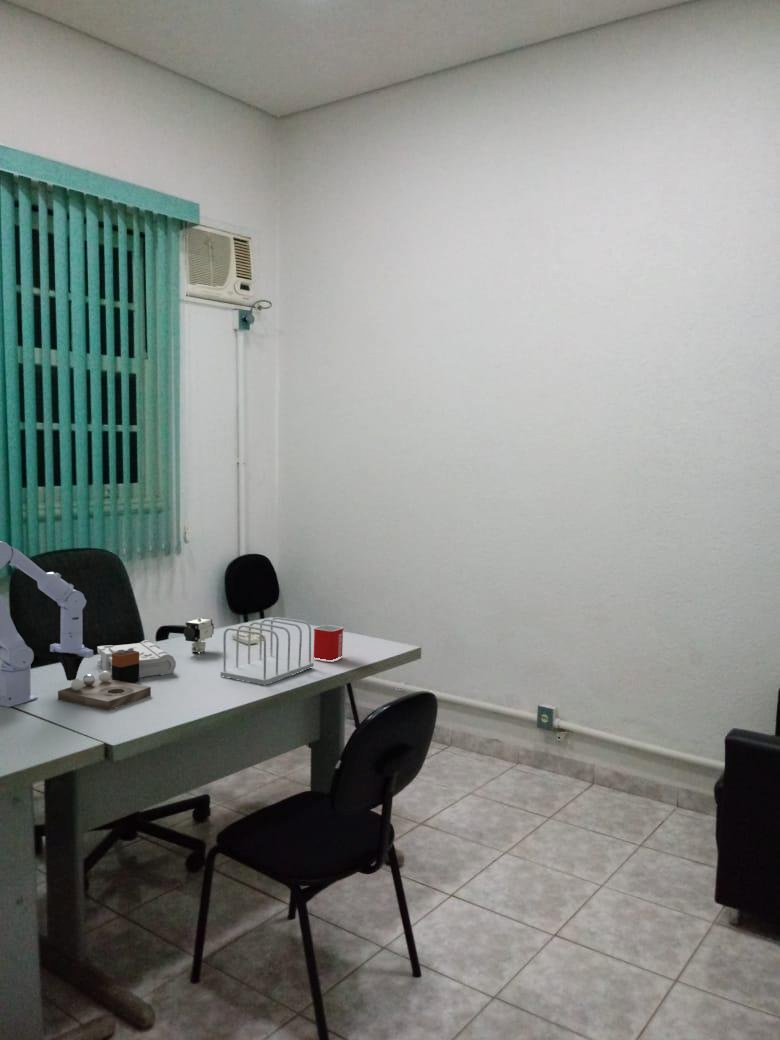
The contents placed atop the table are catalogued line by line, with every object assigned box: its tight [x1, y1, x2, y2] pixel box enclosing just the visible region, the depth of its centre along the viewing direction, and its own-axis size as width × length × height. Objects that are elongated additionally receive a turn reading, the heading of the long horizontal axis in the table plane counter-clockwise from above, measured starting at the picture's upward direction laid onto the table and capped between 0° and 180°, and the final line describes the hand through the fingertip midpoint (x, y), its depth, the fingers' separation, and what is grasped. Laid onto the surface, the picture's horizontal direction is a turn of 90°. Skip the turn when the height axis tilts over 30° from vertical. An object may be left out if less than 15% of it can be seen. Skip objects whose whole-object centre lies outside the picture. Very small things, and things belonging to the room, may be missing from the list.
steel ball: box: [82, 673, 96, 686], centre depth 230 cm, size 3×3×3 cm
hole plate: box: [57, 678, 152, 712], centre depth 227 cm, size 16×18×2 cm
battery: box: [111, 648, 140, 684], centre depth 242 cm, size 4×7×10 cm, turn 144°
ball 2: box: [98, 670, 112, 682], centre depth 234 cm, size 3×3×3 cm
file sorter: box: [219, 616, 315, 686], centre depth 259 cm, size 25×17×16 cm
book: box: [96, 639, 177, 678], centre depth 260 cm, size 19×28×8 cm
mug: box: [313, 624, 344, 660], centre depth 280 cm, size 12×8×11 cm
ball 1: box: [70, 678, 84, 691], centre depth 225 cm, size 3×3×3 cm
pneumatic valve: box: [183, 616, 215, 653], centre depth 281 cm, size 6×12×12 cm, turn 160°
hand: (71, 679), depth 233 cm, fingers closed
